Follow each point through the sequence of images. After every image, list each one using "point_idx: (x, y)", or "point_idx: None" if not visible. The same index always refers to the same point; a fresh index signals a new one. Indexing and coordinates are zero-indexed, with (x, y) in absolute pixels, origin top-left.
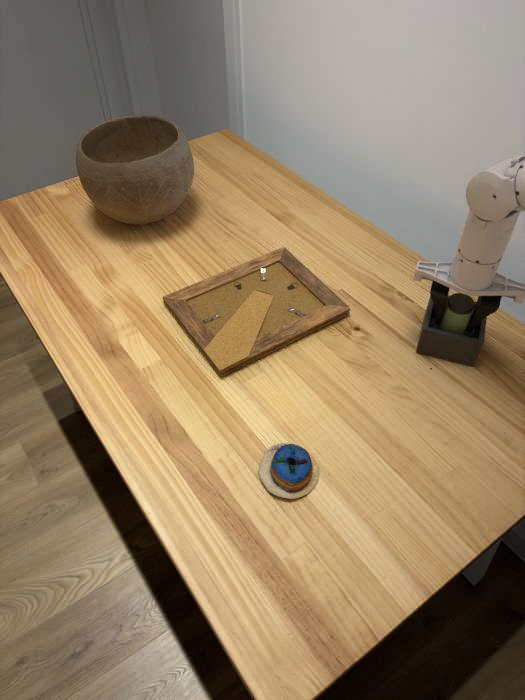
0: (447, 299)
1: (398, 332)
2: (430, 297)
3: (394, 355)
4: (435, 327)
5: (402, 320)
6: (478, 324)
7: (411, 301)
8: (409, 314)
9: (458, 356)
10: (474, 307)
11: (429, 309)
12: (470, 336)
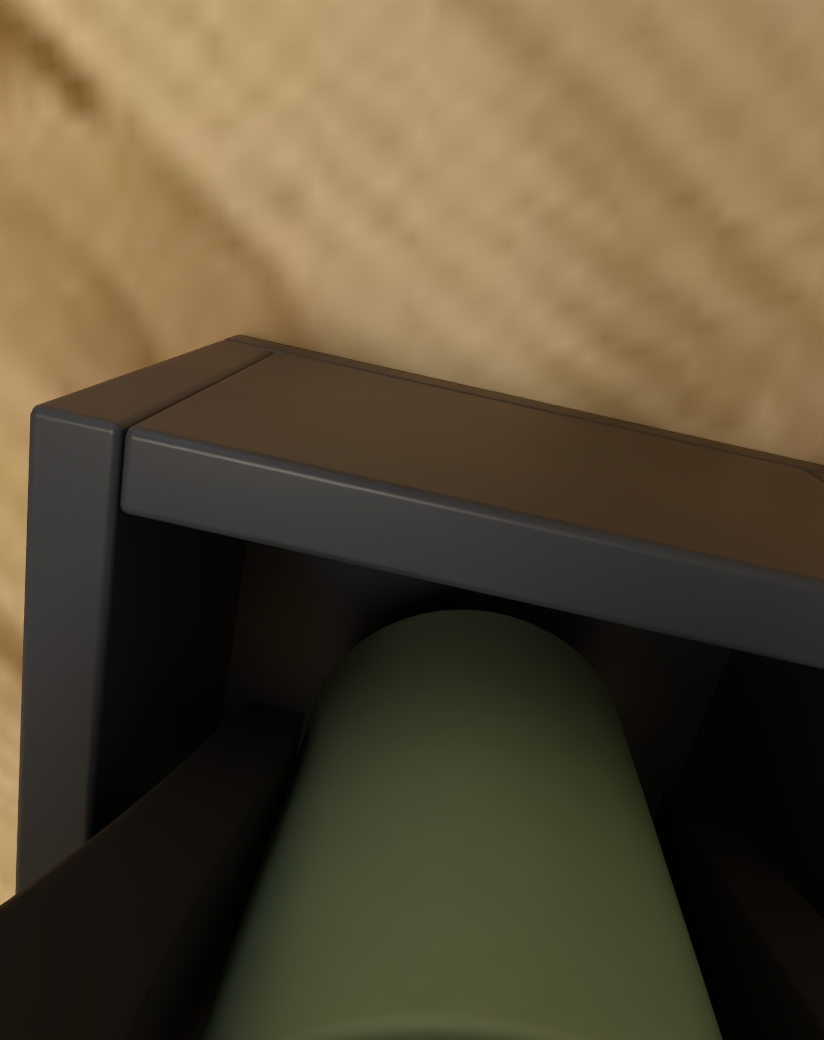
0: (358, 559)
1: (2, 607)
2: (29, 575)
3: (14, 846)
4: (336, 567)
5: (13, 442)
6: (809, 791)
7: (69, 84)
8: (73, 337)
9: None
10: (801, 1018)
11: (42, 853)
12: (697, 657)
